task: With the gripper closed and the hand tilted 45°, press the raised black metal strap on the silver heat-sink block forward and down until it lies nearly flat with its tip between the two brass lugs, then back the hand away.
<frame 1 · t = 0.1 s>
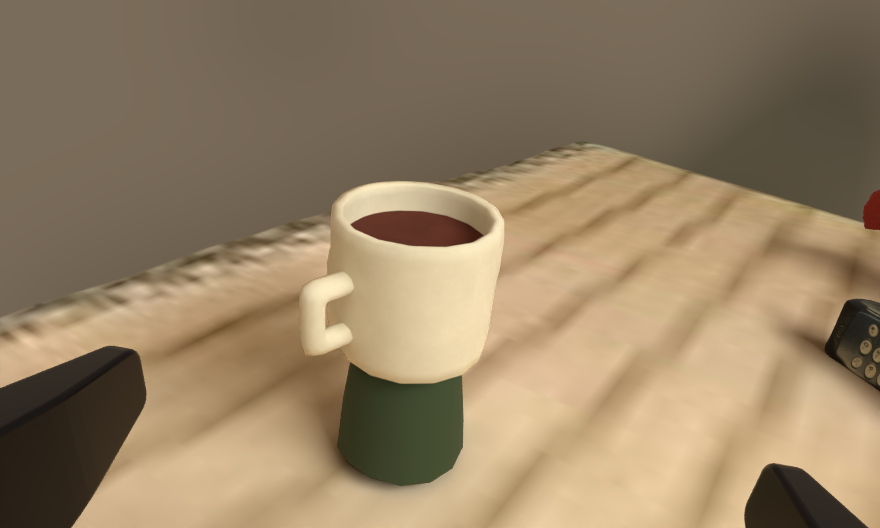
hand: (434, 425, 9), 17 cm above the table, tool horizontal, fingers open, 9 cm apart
character mug: (399, 448, 30), on the table
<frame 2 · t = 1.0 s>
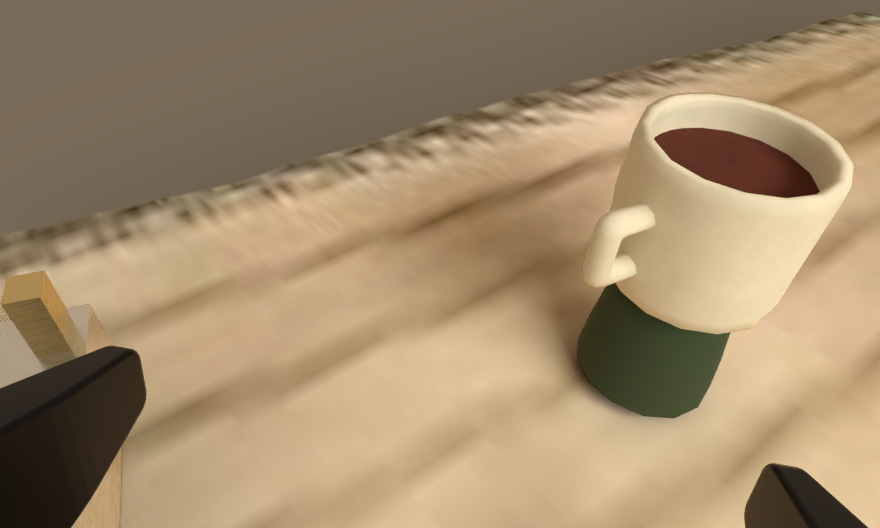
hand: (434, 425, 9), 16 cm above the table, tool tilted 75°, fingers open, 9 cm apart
heat sink block: (21, 519, 23), on the table
character mug: (636, 372, 29), on the table
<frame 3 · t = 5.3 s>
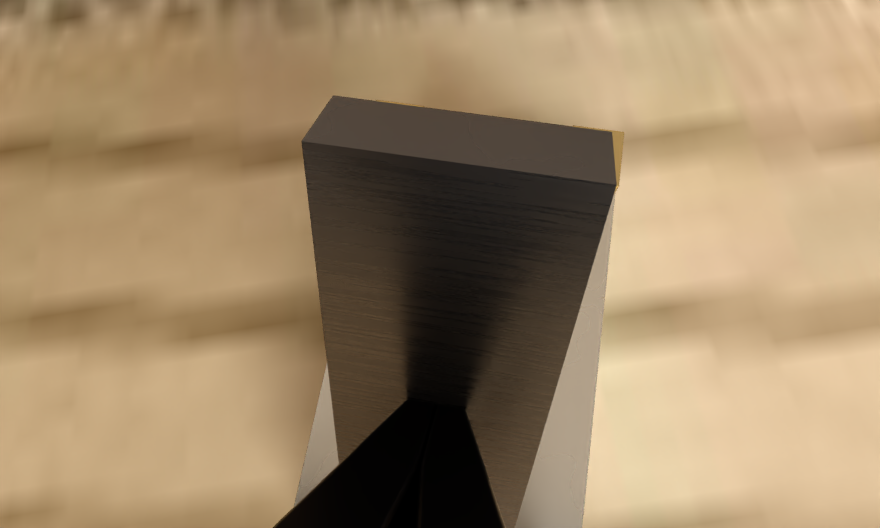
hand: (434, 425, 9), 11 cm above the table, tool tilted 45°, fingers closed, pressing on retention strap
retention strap: (435, 452, 10), point 10 cm above the table, hinge at 31.6°, touching gripper
heat sink block: (464, 371, 20), on the table
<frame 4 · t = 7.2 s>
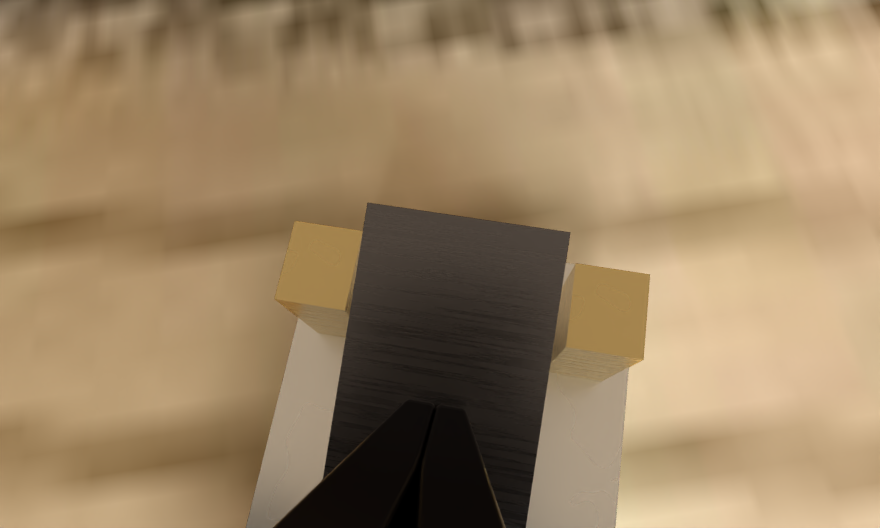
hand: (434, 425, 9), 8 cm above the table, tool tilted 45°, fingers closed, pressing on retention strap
heat sink block: (435, 527, 16), on the table
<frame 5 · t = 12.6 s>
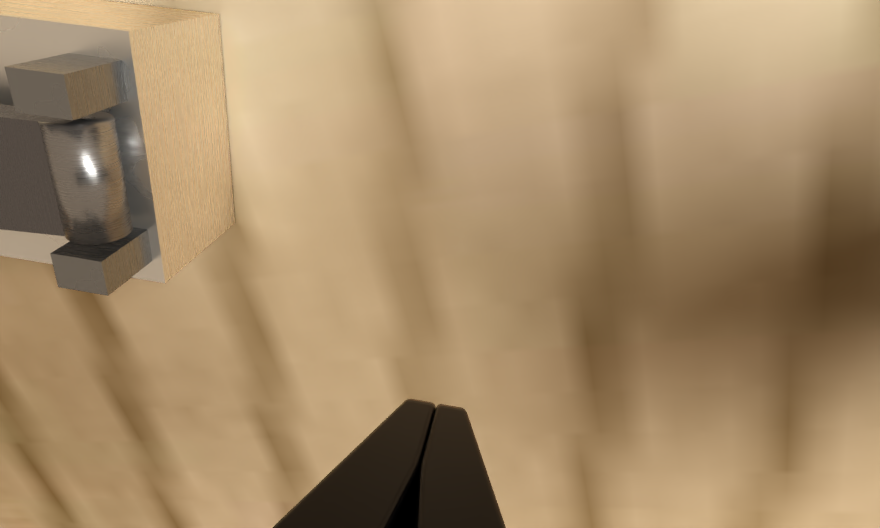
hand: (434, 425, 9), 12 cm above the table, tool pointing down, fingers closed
heat sink block: (54, 102, 20), on the table
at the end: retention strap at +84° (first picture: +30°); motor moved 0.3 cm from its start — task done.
